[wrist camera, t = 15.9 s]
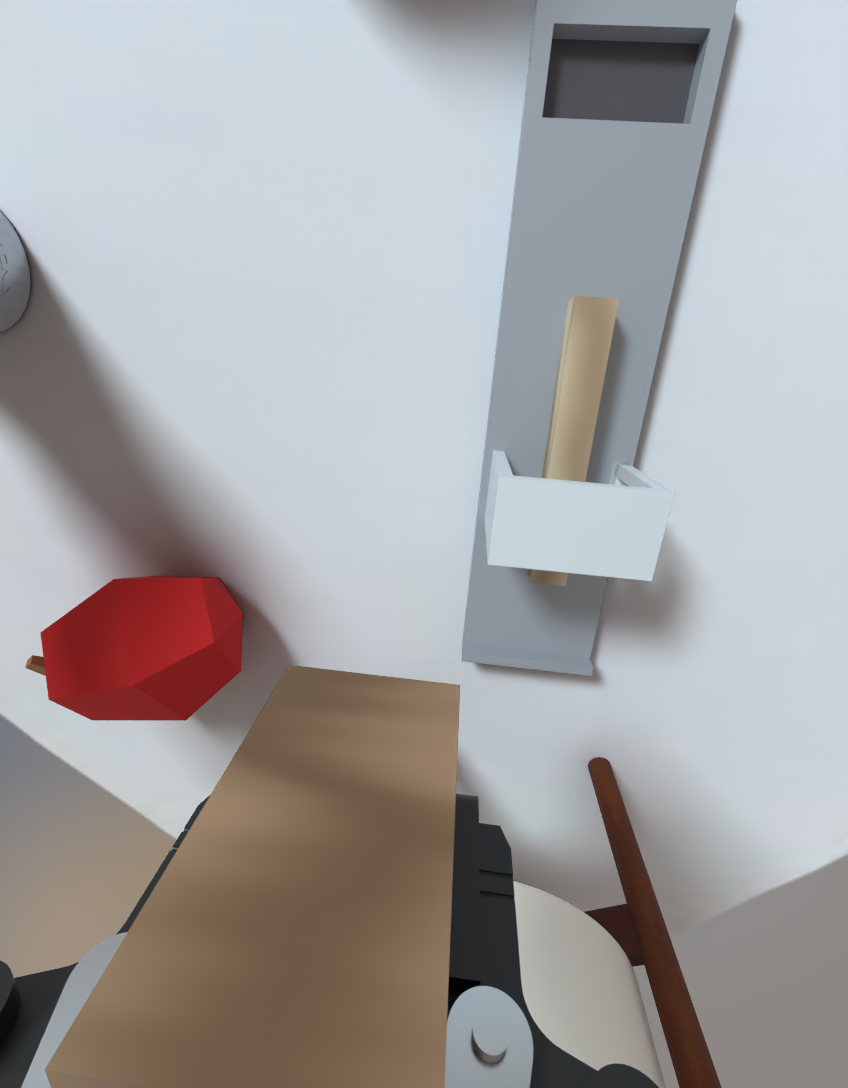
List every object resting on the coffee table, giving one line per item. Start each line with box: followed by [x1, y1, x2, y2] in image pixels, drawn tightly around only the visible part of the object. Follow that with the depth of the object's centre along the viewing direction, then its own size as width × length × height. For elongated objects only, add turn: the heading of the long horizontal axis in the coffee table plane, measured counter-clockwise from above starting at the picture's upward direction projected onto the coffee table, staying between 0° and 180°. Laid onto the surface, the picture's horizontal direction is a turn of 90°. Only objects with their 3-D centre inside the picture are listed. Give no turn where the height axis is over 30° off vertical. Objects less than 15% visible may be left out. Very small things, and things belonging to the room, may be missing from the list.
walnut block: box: [45, 665, 460, 1088], centre depth 9 cm, size 4×4×7 cm
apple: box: [26, 576, 243, 720], centre depth 37 cm, size 12×12×15 cm
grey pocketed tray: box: [462, 0, 737, 676], centre depth 29 cm, size 10×41×10 cm, turn 176°
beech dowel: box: [527, 296, 619, 586], centre depth 32 cm, size 2×18×2 cm, turn 176°
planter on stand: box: [513, 757, 721, 1088], centre depth 30 cm, size 22×22×36 cm
